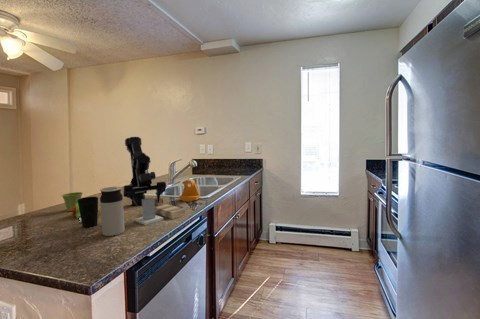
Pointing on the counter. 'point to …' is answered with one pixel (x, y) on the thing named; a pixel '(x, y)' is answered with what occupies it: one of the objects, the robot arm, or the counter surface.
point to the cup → (88, 211)
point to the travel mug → (112, 211)
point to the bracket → (190, 191)
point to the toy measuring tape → (76, 212)
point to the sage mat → (148, 220)
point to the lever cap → (148, 208)
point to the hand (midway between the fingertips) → (148, 204)
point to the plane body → (168, 209)
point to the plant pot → (71, 199)
